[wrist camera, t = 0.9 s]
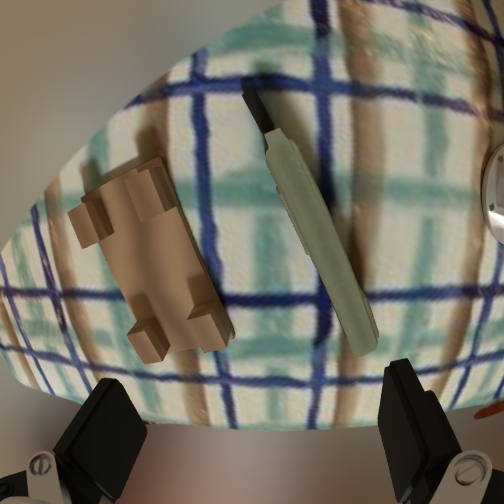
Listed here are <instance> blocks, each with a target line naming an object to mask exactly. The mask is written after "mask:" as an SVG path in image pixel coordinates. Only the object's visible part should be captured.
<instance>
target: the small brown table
mask: <svg viewBox="0 0 504 504" xmlns="http://www.w3.org/2000/svg"><path fill="white" fill-rule="evenodd" d="M81 201H82V204H80V205H79V206H77V207H75V208H74V209H72V210H70V211H69V212H67V213H68V216H69V218H70V221H71V223H72V226H73V228H74V231H75V233H76V235H77V238H78V240H79V242H80V245H81V247H82V249H84V248H86V247H88V246H90V245H92V244H95V243H97V242H98V243H99V245H100V247H101V250H102V252H103V254H104V256H105V258H106V261H107V263H108V265H109V267H110V269H111V271H112V273H113V275H114V278H115V280H116V282H117V284H118V286H119V288H120V290H121V292H122V294H123V296H124V297H125V299H126V301H127V303H128V305H129V307H130V309H131V311H132V313H133V315H134V316H135V318H136V320H137V322H136V323H135V325H134V326H133V327H132V329H131V330H130V331H129V332H128V334H127V337H128V339H129V340H130V342H131V344H132V345H133V347H134V349H135V350H136V352H137V354H138V355H139V357H140V358H141V360H142V362H143V363H144V364H150V363H156V362H161V361H163V360H164V358H165V356H166V354H169V353H174V352H179V351H183V350H188V349H193V348H197V347H201V349H202V351H203V352H204V353H206V352H211V351H215V350H220V349H224V348H227V345H228V341H229V340H232V339H234V338H235V332H234V329H233V327H232V325H231V323H230V321H229V319H228V316H227V314H226V312H225V310H224V308H223V305H222V303H221V301H220V299H219V297H218V294H217V292H216V290H215V288H214V285H213V283H212V281H211V278H210V276H209V274H208V272H207V269H206V267H205V265H204V262H203V260H202V258H201V255H200V253H199V251H198V248H197V246H196V244H195V241H194V239H193V236H192V234H191V232H190V229H189V227H188V224H187V222H186V219H185V217H184V215H183V212H182V210H181V207H180V205H179V202H178V200H177V197H176V195H175V192H174V190H173V187H172V184H171V182H170V179H169V177H168V174H167V172H166V169H165V166H164V164H163V161H162V158H161V157H156V158H154V159H152V160H150V161H148V162H146V163H144V164H142V165H140V166H138V167H136V168H134V169H132V170H130V171H128V172H126V173H124V174H122V175H121V176H119V177H117V178H115V179H113V180H111V181H109V182H108V183H106V184H104V185H102V186H100V187H99V188H97V189H95V190H93V191H92V192H90V193H88V194H86V195H85V196H83V197H81Z"/></svg>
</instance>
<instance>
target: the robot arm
mask: <svg viewBox="0 0 504 504" xmlns="http://www.w3.org/2000/svg"><path fill="white" fill-rule="evenodd" d="M482 206H483V213H484V217H485V221H486V223H487V226H488V228H489V230H490V232H491V234H492V235H493V236H494V237H495V238H496V240H498V241H499V242H501V243H502V244H504V143H503V144H502V145H500V146H499V147H498V148H497V149H496V150H495V151H494V152H493V154H492V156H491V157H490V159H489V161H488V164H487V166H486V170H485V174H484V178H483V185H482ZM378 427H379V431H380V435H381V438H382V442H383V446H384V450H385V454H386V457H387V462H388V466H389V470H390V474H391V479H392V483H393V487H394V492H395V496H396V500H397V502H398V503H400V502H402V504H504V472H502V471H498V470H495V469H492V463H491V461H490V459H489V457H488V456H486V454H484V453H483V452H480V451H477V450H469V451H464V452H462V450H461V447H460V445H459V443H458V441H457V438H456V436H455V434H454V432H453V430H452V428H451V426H450V423H449V421H448V419H447V417H446V415H445V413H444V411H443V409H442V407H441V405H440V403H439V401H438V399H437V397H436V395H435V393H434V392H433V391H432V390H428V391H424V389H423V387H422V385H421V383H420V381H419V379H418V377H417V375H416V373H415V371H414V369H413V367H412V366H411V364H410V362H409V360H408V359H407V358H405V359H400V360H396V361H391V362H390V365H389V366H388V367H385V370H384V378H383V386H382V393H381V400H380V406H379V412H378ZM146 436H147V428H146V426H145V424H144V422H143V421H142V419H141V417H140V416H139V414H138V412H137V410H136V409H135V407H134V405H133V403H132V401H131V400H130V398H129V396H128V394H127V392H126V390H125V388H124V387H123V385H122V384H121V383H120V382H119V381H118V380H117V379H113V378H102V379H101V380H100V381H99V383H98V384H97V385H96V387H95V388H94V390H93V391H92V392H91V394H90V395H89V397H88V398H87V400H86V401H85V402H84V404H83V405H82V407H81V408H80V410H79V411H78V413H77V414H76V416H75V417H74V419H73V420H72V422H71V423H70V425H69V426H68V427H67V429H66V430H65V432H64V434H63V435H62V437H61V438H60V440H59V441H58V443H57V444H56V446H55V447H54V449H53V451H54V452H55V456H53V455H52V454H51V453H49V452H47V451H41V452H37V453H35V454H34V455H32V456H31V457H30V459H29V460H28V462H27V466H26V470H24V471H22V472H19V473H15V474H12V475H9V476H6V477H3V478H1V479H0V504H99V502H100V500H102V501H105V502H108V503H111V504H114V503H115V501H116V499H118V498H119V497H120V496H121V494H122V491H123V489H124V487H125V484H126V482H127V480H128V477H129V475H130V473H131V470H132V468H133V466H134V463H135V461H136V459H137V457H138V454H139V452H140V450H141V447H142V445H143V443H144V441H145V438H146Z"/></svg>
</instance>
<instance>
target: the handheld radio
mask: <svg viewBox="0 0 504 504" xmlns="http://www.w3.org/2000/svg"><path fill="white" fill-rule="evenodd" d="M242 97H243V99H244V101H245V103H246V104H247V106H248V108H249V110H250V112H251V114H252V116H253V117H254V119H255V121H256V123H257V125H258V127H259V129H260V131H261V132H262V133H263V135H264V137H265V139H266V142H267V144H268V150H267V151H266V163H267V166H268V168H269V170H270V172H271V175H272V177H273V179H274V181H275V183H276V185H277V186H276V190H277V192H278V195H279V197H280V199H281V201H282V203H283V205H284V207H285V209H286V211H287V213H288V215H289V217H290V219H291V222H292V224H293V226H294V228H295V230H296V232H297V234H298V236H299V239H300V241H301V243H302V245H303V247H304V249H305V252H306V254H307V255H310V257H311V259H312V262H313V264H314V266H315V268H317V270H318V272H319V275H320V277H321V279H322V281H323V284H324V286H325V288H326V291H327V293H328V295H329V298H330V300H331V302H332V305H333V307H334V310H335V312H336V314H337V317H338V319H339V321H340V324H341V326H342V329H343V331H344V333H345V336H346V338H347V339H348V342H349V344H350V346H351V349H352V351H353V353H354V354H355V355H357V356H360V357H361V356H363V355H365V354H367V353H369V352H371V351H373V350H375V349H376V348H377V344H378V341H377V339H378V337H379V332H378V329H377V326H376V322H375V319H374V316H373V313H372V310H371V307H370V304H369V302H368V299H367V297H366V296H365V294H364V293H363V291H362V290H361V288H360V287H359V285H358V283H357V280H356V278H355V275H354V272H353V270H352V267H351V264H350V262H349V259H348V257H347V254H346V252H345V249H344V247H343V244H342V242H341V239H340V237H339V234H338V232H337V230H336V227H335V225H334V222H333V220H332V218H331V215H330V213H329V211H328V209H327V206H326V204H325V202H324V199H323V197H322V195H321V193H320V190H319V188H318V186H317V184H316V182H315V180H314V177H313V175H312V173H311V171H310V169H309V167H308V165H307V163H306V160H305V158H304V156H303V154H302V152H301V150H300V148H299V146H298V144H297V143H296V141H294V140H292V139H287V138H286V137H285V135H284V134H283V132H282V131H281V129H280V128H277V129H275V128H274V124H273V122H272V120H271V118H270V117H269V115H268V113H267V111H266V109H265V107H264V105H263V103H262V102H261V100H260V98H259V96H258V94H257V92H256V91H255V89H252V90H248V91H246V92H245V93H244V94H242Z"/></svg>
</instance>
